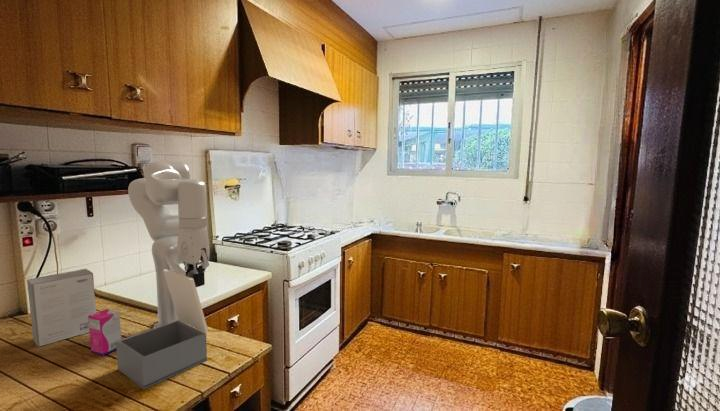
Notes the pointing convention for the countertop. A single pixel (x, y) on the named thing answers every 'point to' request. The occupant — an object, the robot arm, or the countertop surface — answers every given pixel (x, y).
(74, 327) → the hard drive box
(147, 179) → the robot arm
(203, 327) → the flap
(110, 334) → the supplement box
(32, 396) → the countertop surface
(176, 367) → the grey storage box
